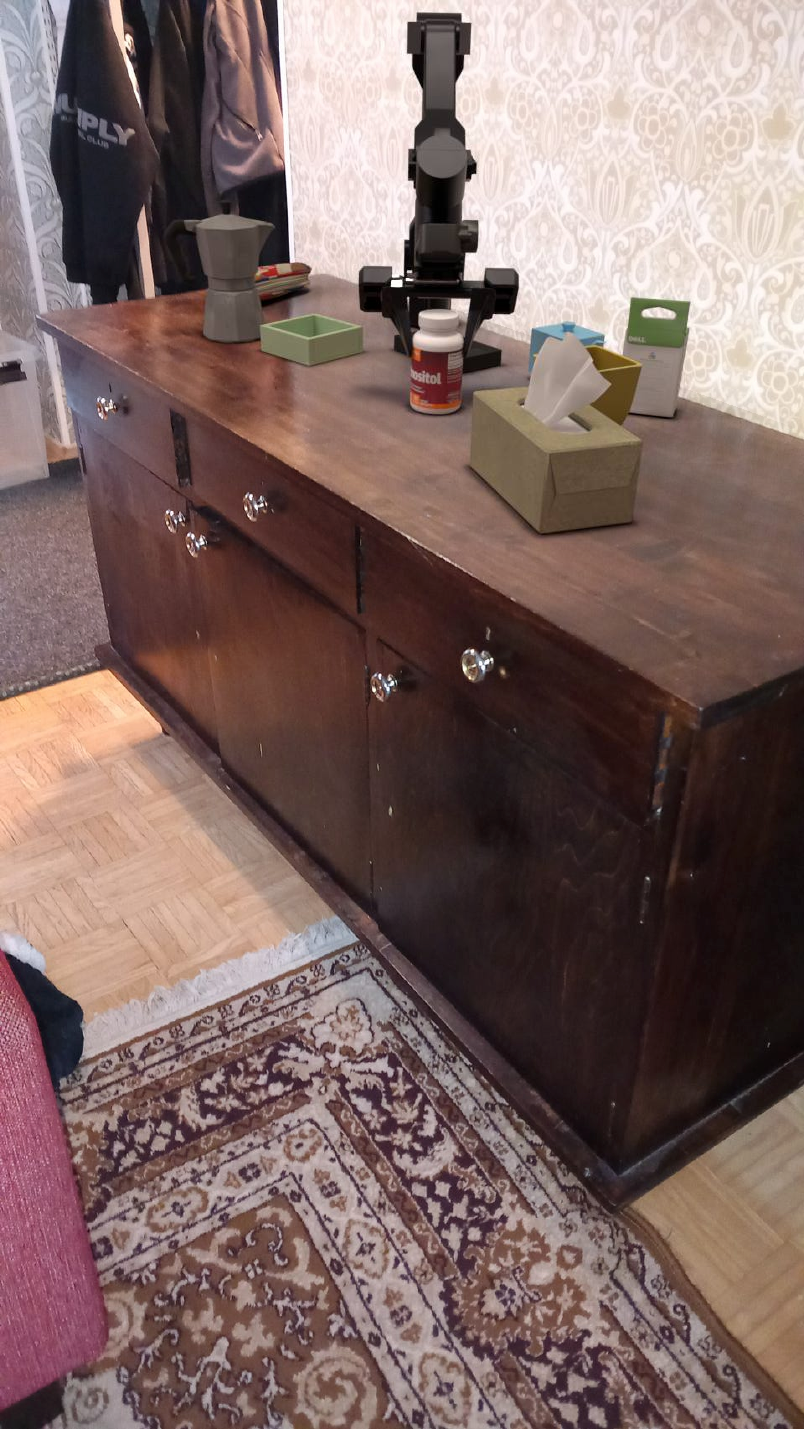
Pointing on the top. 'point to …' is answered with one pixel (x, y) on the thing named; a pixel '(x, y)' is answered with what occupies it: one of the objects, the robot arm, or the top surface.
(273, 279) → the pencil case
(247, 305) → the coffeepot
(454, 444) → the top surface
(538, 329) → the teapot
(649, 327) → the ink box
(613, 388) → the flower pot
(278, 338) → the box
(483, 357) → the vhs tape
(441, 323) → the pill bottle
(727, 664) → the top surface
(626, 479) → the tissue box
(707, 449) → the top surface
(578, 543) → the top surface
